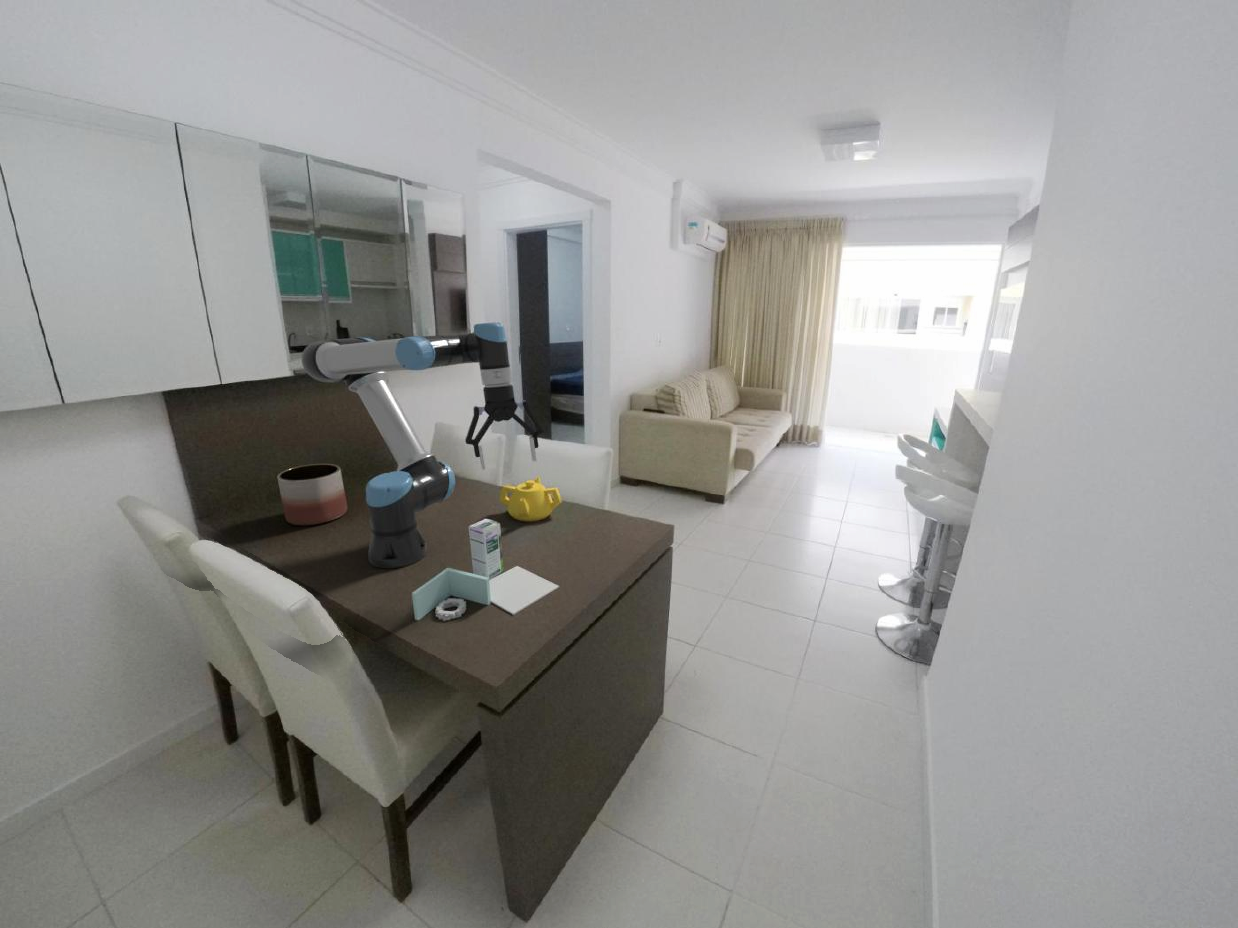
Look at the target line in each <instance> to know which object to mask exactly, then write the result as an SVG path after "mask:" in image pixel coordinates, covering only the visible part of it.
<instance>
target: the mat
mask: <svg viewBox="0 0 1238 928" xmlns="http://www.w3.org/2000/svg"><path fill="white" fill-rule="evenodd" d="M489 583H490V596H491V604H493V605H495V606H497V607H498V608H500V609H502V610H504V611H506V612H507V613H509V614H511V615H512V616H515V615H516V614H518V613H520V612H522V611H523V610H525V609H526V608H528V607H530V606H531V605H533V604H535V603H536V602H537V601H539V600H541V599H543V598H544V597H547V596H548V595H549V594H551V593H552V592H554V591H556V590H558V589H559V588H560V585H558V584H556V583H553V582H551V581H550V580H547V579H545V578H543V577H540V576H539V575H537V574H535V573H533V572H530V571H529V570H528V569H524V568H522V567H520V566H518V565H515V566H514V567H513V568H510V569H509V570H508V569H507V570H506V571H503V572H502V573H500V574H498V575H496V576H495V577H493V578H491V579H490V580H489Z"/></svg>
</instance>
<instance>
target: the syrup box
mask: <svg viewBox="0 0 1238 928" xmlns="http://www.w3.org/2000/svg"><path fill="white" fill-rule="evenodd" d="M468 534H469V542H470V543H469V544H470V550H471V551H470V553H471V563H472V564H471V565H472V572H473V573H472V574H476V575H480V576H484V577H488V578H489V580H490V579H492V578H494V577H496V576H498V575H500V574H502V573H504V572H505V571H504V557H503V542H502V535H501V534H502V532H501V523H499V522H498V521H496V520H493V519H488V518H484V519H483V520H480V521H477V522H475V523H473V524H470V525H469V526H468Z"/></svg>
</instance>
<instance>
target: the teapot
mask: <svg viewBox="0 0 1238 928" xmlns="http://www.w3.org/2000/svg"><path fill="white" fill-rule="evenodd" d="M508 492H510V493H511V494H510V497H508ZM551 494H552V496H551ZM552 497H553V499H552ZM498 501H499V502H501V503H502V504H503V505H504V506H505V507H507V513H509V515H510V516H511V517H512V518H513V519H515V520H516V521H520V522H521V521H522V522H537V521H541V520H544V519H546V518H548V517H549V515H551V513H552V512H553V510H554V509H555V508H556V507H558V506H559V505H561V503H562V502H563V500H562V496H561V494H560V491H559V488H558V487H550V488H549V487H548V488H546V487H545V485H543V484H542V483H541V477H535V478H534V480H532V479H531V480H529V479H528V480H526V481H524V482H523V483H520V484H518V485H517V486H512V485H509V484H503V486H502V488H501V492H500V495H499V498H498Z"/></svg>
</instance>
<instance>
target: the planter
mask: <svg viewBox="0 0 1238 928" xmlns="http://www.w3.org/2000/svg"><path fill="white" fill-rule="evenodd" d="M342 476H343V475H342V470H341V468H340V466H338V465H337V464H332V463H313V464H305V465H299V466H296V467H291V468H288V469H285V470H283V471H281V472H279V473H278V474H277V477H276V478H277V482H278V483H277V484H278V487H279V492H280V498H281V503H282V507H283V513H284V517H285V521H286V522H287V523H289V524H292V525H295V526H316V525H320V524H325V523H328V522H332V521H335V520H336V519H339V518H340V517H342V516H343V515H345V513H346V512H347V511H348V503H347V502H348V501H347V498H346V492H345V486H344V482H343V477H342Z"/></svg>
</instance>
